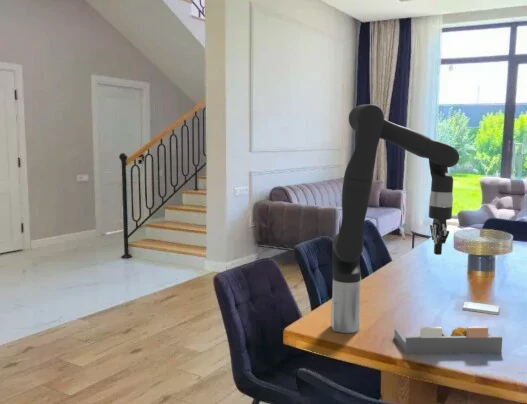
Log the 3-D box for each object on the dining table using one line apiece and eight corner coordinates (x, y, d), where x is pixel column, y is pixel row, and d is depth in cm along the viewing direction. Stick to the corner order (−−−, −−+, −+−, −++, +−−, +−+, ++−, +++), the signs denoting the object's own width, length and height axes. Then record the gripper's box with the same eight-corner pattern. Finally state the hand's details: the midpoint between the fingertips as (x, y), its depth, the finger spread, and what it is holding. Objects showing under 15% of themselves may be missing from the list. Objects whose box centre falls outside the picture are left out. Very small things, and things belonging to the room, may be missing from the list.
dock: (406, 354, 157) (407, 328, 156) (394, 337, 170) (395, 313, 169) (501, 353, 157) (503, 327, 156) (482, 336, 170) (483, 313, 169)
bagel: (451, 350, 160) (452, 335, 159) (448, 337, 170) (449, 323, 170) (486, 354, 157) (487, 339, 156) (481, 341, 168) (482, 327, 167)
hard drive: (499, 305, 199) (464, 300, 204) (498, 312, 192) (462, 306, 197) (499, 309, 199) (464, 304, 205) (498, 316, 192) (462, 310, 197)
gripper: (423, 202, 185) (420, 249, 187) (436, 207, 172) (433, 258, 174) (444, 202, 185) (441, 250, 187) (458, 207, 172) (455, 258, 174)
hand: (437, 254), depth 181 cm, fingers closed
